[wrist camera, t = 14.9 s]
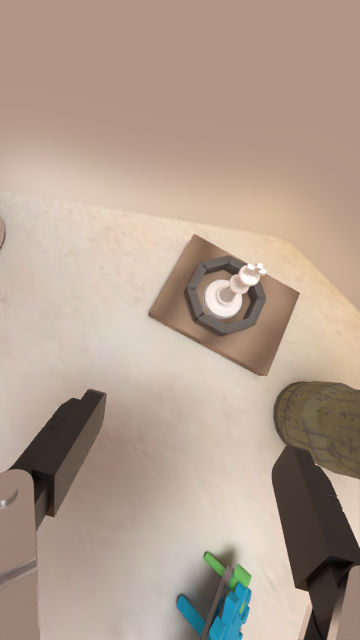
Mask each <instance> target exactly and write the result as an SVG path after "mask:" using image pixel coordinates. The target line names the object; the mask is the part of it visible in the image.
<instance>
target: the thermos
mask: <svg viewBox="0 0 360 640" xmlns="http://www.w3.org/2000/svg"><path fill="white" fill-rule="evenodd" d="M274 422H275V426H276V430H277V432H278V434H279V436H280V437H281V439H282V441H283V442H284V443H285V444H286V445H288V444H290V445H294V446H298V447H301V448H305V449H307V450H309V452H310V453H311V456H312V458H313V460H314V463H316V464H318V465H320V466H322V467H324V468H326V469H328V470H330V471H332V472H334V473H338V474H342V475H346V476H350V477H354V478H358V479H360V390H355V389H353V388H351V387H349V386H347V385H345V384H342V383H333V382H317V381H313V382H297V383H293V384H290V385H289V386H287V387H286V388H284V389H283V390H282V392H281V393H280V394H279V396H278V397H277V400H276V403H275V406H274Z"/></svg>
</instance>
